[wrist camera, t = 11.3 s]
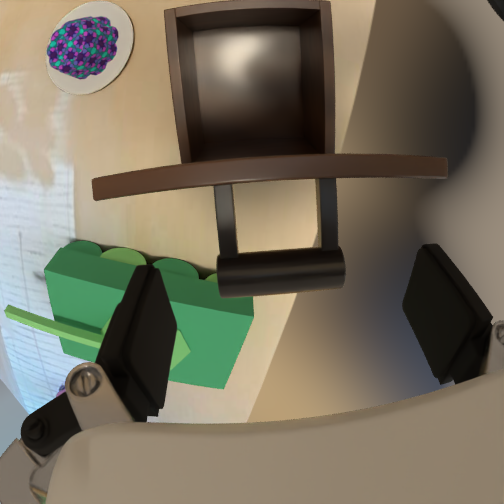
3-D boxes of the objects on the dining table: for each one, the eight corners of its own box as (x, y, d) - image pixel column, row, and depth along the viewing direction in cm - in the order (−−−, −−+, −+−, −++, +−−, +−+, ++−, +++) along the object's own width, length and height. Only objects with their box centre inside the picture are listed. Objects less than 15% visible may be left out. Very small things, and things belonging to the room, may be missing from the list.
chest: (185, 27, 25) (163, 9, 16) (305, 19, 25) (330, 1, 16) (198, 150, 33) (183, 179, 25) (309, 142, 33) (334, 169, 25)
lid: (90, 178, 9) (116, 324, 10) (448, 157, 9) (442, 295, 10) (182, 176, 24) (189, 239, 26) (335, 166, 24) (338, 228, 25)
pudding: (91, -14, 20) (71, -23, 15) (156, 34, 25) (142, 28, 20) (34, 63, 24) (9, 66, 20) (91, 113, 29) (70, 121, 25)
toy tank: (-13, 272, 26) (255, 340, 33) (30, 224, 37) (251, 273, 43) (18, 355, 36) (223, 408, 42) (45, 306, 46) (224, 349, 52)
